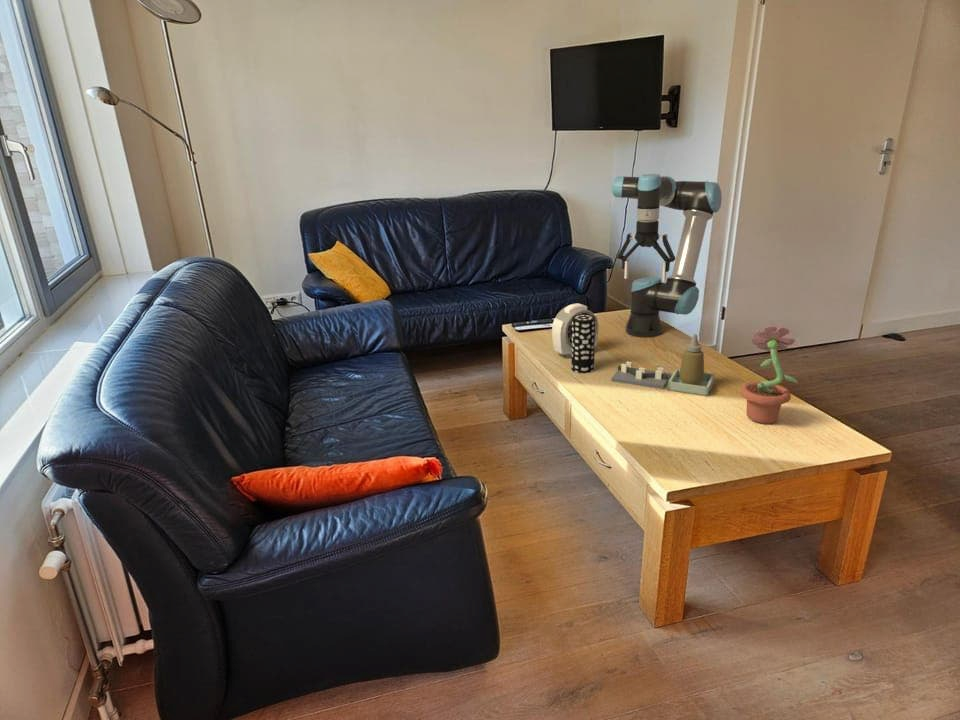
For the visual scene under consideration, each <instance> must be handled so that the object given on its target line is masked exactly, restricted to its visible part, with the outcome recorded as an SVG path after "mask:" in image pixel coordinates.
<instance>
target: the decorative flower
mask: <svg viewBox="0 0 960 720" xmlns="http://www.w3.org/2000/svg"><path fill="white" fill-rule="evenodd" d="M788 334H790V330H789V329H788V328H786V327H782V326H781V327H779V328H778V327H777V326H774V325H769V326H765V327H764V329H763V330H761V329H758V330H756V331H755V332H754V334H753V338H751V342H752V344H753V345H755V346H756V347H757V348H758V349H760V350H763V351H768V352H770V357H771V358H767V359H765V360H764V361H762V363H761V364H759V365H760V366H759V367H767V366H769V365H770V364H771V363H773V367H774V370H775V373H776V378H774V379H772V380H766V381H751V382H746V383H745V384H743V385H742V386H741V387H740V390H739V391H740V392H739V394H740V396H741V398H743V399H745V400H746V416H747V418H748V419H749V420H750V421H752V422H755V423H759V424H765V425H766V424H773V423H775V422H777V421H778V419H779V415H780V411H781V406H782V405H785V404H786V403H789V402H790V401H791V397H792V395H791V393H790V391H789V389H788V388H786V387H784V386H783V385H780V384H781V383H782V382H783V380H784V378H785V379H786V380H787V381H789V382H792V383H797V384H798V383H799V382H798V381H797V380H796V379H795V378H794V377H793V376H790V375H787V374H784V371H783V368H782V366H781V362H780V359H779V353H778V351H781V350H786V349H789V346H791V345H793V344H794V343H795V342H796V339H795V338H789V337H788V336H786V335H788Z"/></svg>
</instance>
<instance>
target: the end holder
mask: <svg viewBox="0 0 960 720" xmlns="http://www.w3.org/2000/svg"><path fill="white" fill-rule="evenodd" d="M679 373H680V368H675V369H674V371H673V373H672V374H671V377H670V379H669V380H668V382H667V389H666V390H667V391H670V392H676V393H682V394H691V395H697V396H704V397H708V396H709V394H710V392H711V390H712V387H713V385H714V383H715V373H712V372H711V373H710V372H705V371H704V378H703V380H702V382H701V384H700V386H698V385H691V384H684V383H681V379H680V375H679Z"/></svg>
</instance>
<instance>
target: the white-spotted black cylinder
mask: <svg viewBox="0 0 960 720" xmlns="http://www.w3.org/2000/svg"><path fill="white" fill-rule="evenodd" d="M595 348H596V347H595V316H593V315H588V314H579V315H574V316H573V317H572V358H570V361H571V362H570V363H571V364H570V365H571V367H570V368H571V369H570V370H571V371H572V372H574V373H578V374H588V373H589V374H590V373H592V372H594V371H595Z"/></svg>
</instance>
